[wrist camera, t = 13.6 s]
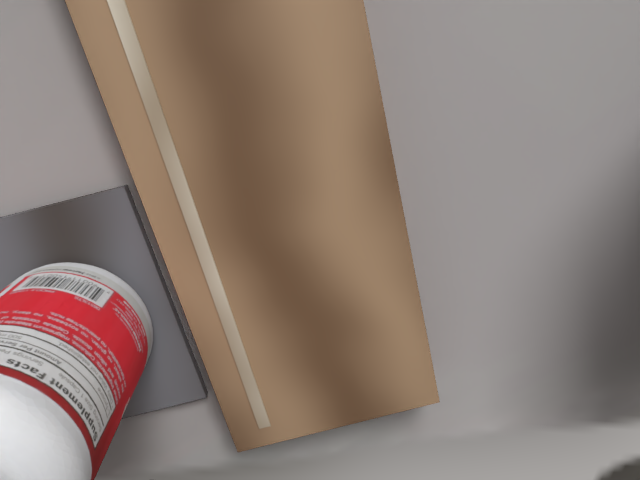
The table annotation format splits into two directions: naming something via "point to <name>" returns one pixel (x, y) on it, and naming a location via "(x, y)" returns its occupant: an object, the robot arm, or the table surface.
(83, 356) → the pill bottle
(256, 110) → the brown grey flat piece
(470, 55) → the table surface
